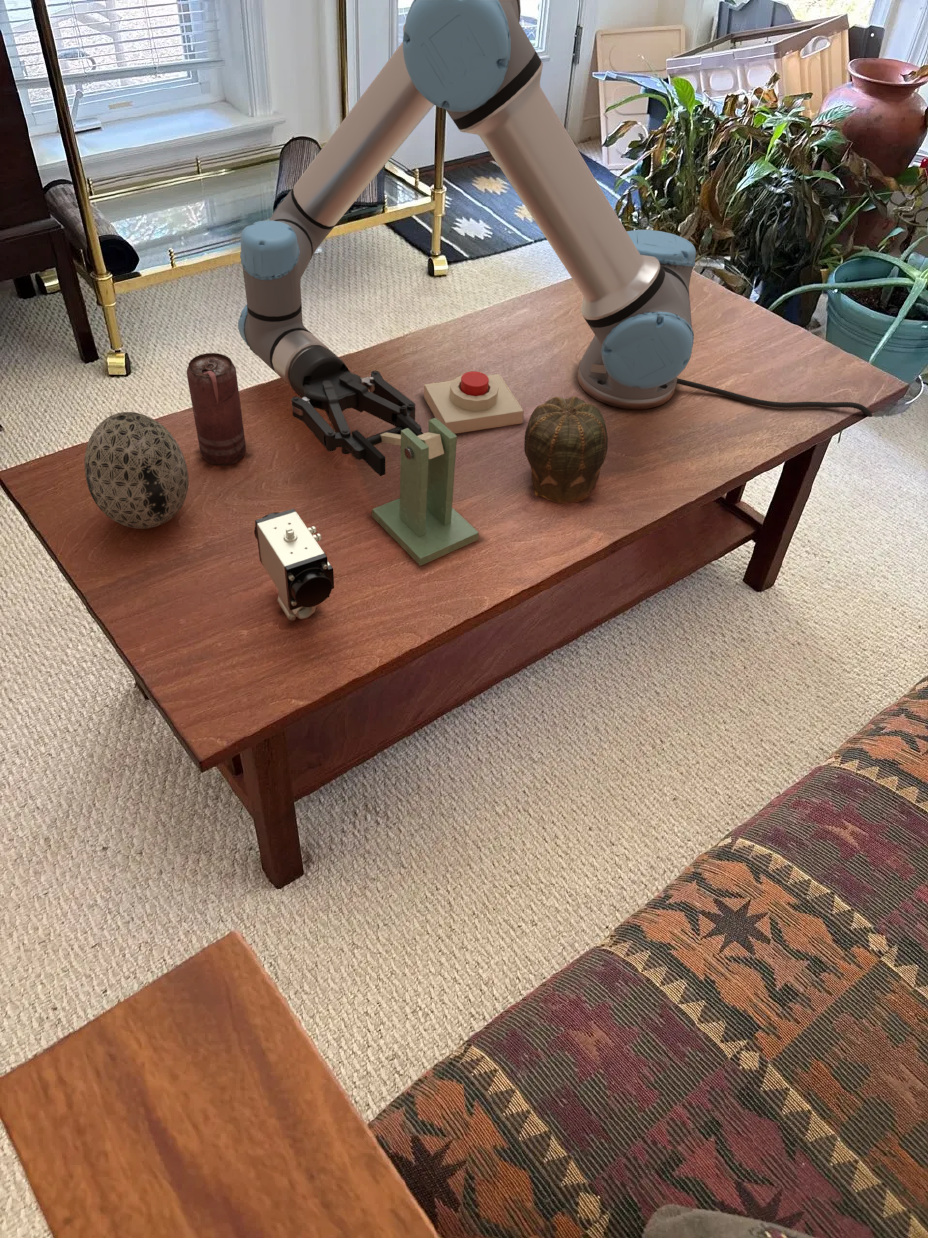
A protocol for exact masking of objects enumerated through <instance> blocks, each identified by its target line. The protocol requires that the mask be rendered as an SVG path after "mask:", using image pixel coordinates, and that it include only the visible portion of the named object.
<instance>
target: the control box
mask: <svg viewBox="0 0 928 1238" xmlns="http://www.w3.org/2000/svg"><path fill="white" fill-rule="evenodd" d="M462 375H463V374H461V375H459V376H457V377H455V378H453V379H452V380H447V381H440V382H433V383H425V384H423V398H424V400H425V402H426V404H427V406H428V407H429V409H430V411H431V412H432V413H431V414H433V416H434V418H437V419H438V420H439V421H440V422H441V423H442V424H444V425H445V426H446V427H447V428H448V429H449V430H450V431H452V432H453V433H454V434H455V435H456V434H462V433H467V432H468V433H469V432H474V431H480V430H481V431H482V430H488V429H494V428H500V427H506V426H514V425H519V424H523V421H524V414H525V413H524V412H525V411H524V408H522V406H521V404H520V403H519V401H518V400H517V398H516V397H515V396H514V393H513V392H512V391H511V389H510V388H509V386H508V384H507V383H506V382H505V380H504V379H503V377H502V376H501V374H500V373H495V374H489V375H486V376H487V377H488V378H489V384H488V391H487V393H486V394H485V395H481V396H472V395H467V394H465V393H463V392H462V391H461V377H462Z"/></svg>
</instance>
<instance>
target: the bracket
mask: <svg viewBox="0 0 928 1238" xmlns="http://www.w3.org/2000/svg"><path fill="white" fill-rule="evenodd" d="M427 432H429V433H435V434H440V437H441V441H442V446H443V450H444V454H442V455H440V456H437V457H435V458H432V459H430V460H429V459H428V457H429V447H428V446H427V445H426V444H425V443H424V442H423V441H422V440H421V439H419V438H418V437H417V436H416V435H415V434H414V433H413V432H412V431H411V430H410V429H408V428H406V429H403V430H401V446H400V456H399V457H400V459H399V460H400V463H399V464H400V465H399V468H400V469H399V472H400V473H399V498H396V499H394V500H391V501H389V502H386V503H384V504H381V505H379V506H376V507H374V508H372V510H371V516H372V518H373V519H374V520H375V521H376V522H377V524H379V525H380V527H382V528H383V529H384V531H386V532H387V534H388V535H389V536H390V537H391V538H392V539H393V540H394V541H395V542H396V543H397V544H398V546H400V547H401V548H402V549H403V550H404V551H405V552H406V553H407V554H408V555H409V556H410V557H411V558H412V559H413V560H414V561H415V562H416V564H417V565H419V567H422V566H424V565H426V564H428V563H431V562H433V561H434V560H437V559H440V558H441V557H444V556H446V555H448V554H450V553H452V552H455V551H457V550H459V549H461V548H463V547H465V546H468V545H470V544H473V543H475V542H477V541H479V537H480V535H479V533H480V532H479V531H478V530H477V529H476V528H475V527H474V526H473V525H472V524H471V523H470V522H468V520H466V518H465V517H463V516H462V515H461V514H460V513H459V512H458V511H457V510H455V508H453V498H454V485H455V471H456V456H457V444H458V443H457V441H458V436H457V435H456V434H454V433H453V432H452V431H450V430H449V429H448V428H447V427H446V426H445V425H444V424H442V423H441V422H440V421H439V420H438V419H437V418H435V417H433V418H431V419H428V430H427Z"/></svg>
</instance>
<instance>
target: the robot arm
mask: <svg viewBox="0 0 928 1238" xmlns="http://www.w3.org/2000/svg"><path fill="white" fill-rule="evenodd" d="M521 7H522V6H521V0H413V1H411V4H410V8H409V9H408V12H407V15H406V18H405V23H404V25H402V26H403V27H402V32H403V36H402V41H401V42H400V45H399V46H398V47H397V49H396V50H395V51H394V53H393V54H391V57H390V58H389V59H388V61H387V62H386V63H385V64H384V66H383V67H382V68H381V70H379V72H378V74H377V75H376V76H375V78H374V79H373V80H372V81H371V83H370V84H369V86H368V87H367V88H366V90H365V91H363V93H362V95H361V96H360V98H359V99H358V100H357V101H356V103H355V104H354V106H353V107H351V110H350V111H349V112H348V113H347V115H346V116H345V117H344V119H343V120H342V122H341V123H340V124H339V126H338V127H336V130H334V132H333V133H332V135H331V136H330V137H329V139H328V140H327V141H326V143H325V144H324V145H323V147H322V148H321V149H320V151H319V152H318V153H317V155H315V157H314V159H313V160H312V161H311V162H310V164H309V166H308V167H307V168H306V169H305V171H304V172H303V173H302V175H301V176H300V177H299V178H298V180H297V181H296V183H294V186H293V187H292V188H291V190H290V191H289V192H288V193H287V194H286V196H285V197H283V198H282V199H281V200H280V201H279V203H277V206H276V207H275V208H274V210H273V212H272V215H271V217H270V219H268V220H259V221H255V222H253V223H252V224H249V225H247V226H245V227H244V228H243V230H242V232H241V234H240V254H239V258H240V263H241V265H242V275H243V281H244V290H245V297H246V299H245V300H246V305H245V306H244V307H243V308H242V310H241V312H240V316H239V319H238V321H237V328H238V333H239V336H240V337H241V339H242V340H243V341H244V343H245V344H246V346H248V347H249V350H250V351H252V353H253V354H254V355H255V356H257V357H258V358H259V359H260V360H261V361H262V362H263V363H264V364H266V365H267V366H268V367H269V368H270V369H271V370H272V371H273V372H274V373H275V374H277V375H278V377H279V378H280V379H282V381H283V382H284V383H286V385H287V386H289V387H290V388H291V389H292V390H293V392H294V393H295V394H297V395H298V396H293V397H291V400H290V401H291V411H292V412H291V413H292V417H294V418H295V419H297V420H299V421H301V422H302V423H304V425H305V426H306V427H307V428H308V430H310V432H311V433H312V434H313V436H314V437H316V439H317V440H318V442H319V443H320V444H321V445H322V446H323V447H324V449H326V451H328V452H334V451H336V450H337V449H338V448H341V454H343V455H351V456H352V457H353V458H354V459H355V460H357V461H361V460H363V462H365V463H366V464H367V465H368V466H369V467H370V468H371V469H372V470H373V471H374V472H375V473H376V474H377V475H378V476H379V477H382V476H385V475H386V456H385V455H384V454H383V453H382V452H381V451H380V450H379V449H378V448H377V447H376V445H374V446H373V445H372V444H371V443H370V442H369V441H368V440H367V439H366V438H367V437H365V435H363V434H362V433H361V432H360V431H359V430H358V429H356V430H353V431H351V429H350V427H349V424H348V422H347V420H346V418H345V415H344V411H346V410H348V409H352V410H355V411H357V412H359V413H363V412H365V413H366V414H367V413H368V414H369V415H372V416H373V417H375V418H378V419H379V420H382V421H384V422H385V423H388V424H390V425H391V426H393V427H398V426H403V427H404V429H406V428H408V429H410V430H411V431H412V432H413V433H414V434H415V435H416V436H419V435H421V434H424V433H425V432H423V431H422V426H421V425H420V424H419V423H418V422H417V420H416V403H415V402H414V401H413V400H411V399H410V398H409V397H407V396H406V395H405V394H404V393H402V392H401V391H399V390H398V389H397V388H395V387H394V386H393V385H392V384H391V383H389V382H388V381H387V380H385V379H384V378H383V376H382V375H381V372H380V371H378V370H372V371H371V372H370V376H366V377H361V376H360V375H358V374H356V373H353V372H351V371H350V369H349V368H348V366H347V365H346V363H345V362H344V361H343V360H342V359H341V358H340V357H339V356H338V355H337V354H336V353H334V351H332V350H331V349H330V348H329V347H328V346H327V345H326V344H325V343H323V341H321V340H320V339H319V338H318V337H317V336H316V335H314V333H312V332H311V331H310V330H309V329H307V328H306V327H305V326H304V323H303V322H304V321H303V304H302V303H303V302H302V289H301V287H302V286H301V281H302V277H303V275H304V273H305V271H306V269H307V267H308V266H309V264H310V263H311V260H312V258H313V256H314V254H315V253H316V252H317V249H318V248H319V247H320V245H321V244H322V243H323V242H324V240H325V239H326V238H327V236H328V235H329V234H330V233H331V232H332V230H334V228H335V227H336V225H337V224H338V223H339V221H340V220H341V219H342V217H343V216H345V214H346V213H347V212H348V210H349V209H350V208H351V207H352V206H353V205H354V203H355V202H356V201H357V199H358V198H359V197H360V196H361V195H362V193H363V192H364V191H365V190H366V189H367V188H368V186H369V185H370V184H371V183H372V181H373V180H374V179H375V178H376V176H377V175H378V174H379V173H380V172H381V171H382V169H383V168H384V167H385V166H386V164H387V163H388V162H389V161H390V159H392V157H393V156H394V154H395V153H396V152H397V151H398V150H399V148H400V147H402V145H403V144H404V142H405V141H407V139H408V137H409V136H410V135H411V134H412V133H413V132H414V131H415V129H416V128H417V127H418V126H419V124H420V123H421V122H422V121H423V120H424V118H425V117H426V116H427V115H428V113H430V111H431V110H432V108H433V107H438V108H440V109H441V108H442V109H443V110H445V111H446V112H447V114H448V116H449V117H450V119H451V120H452V121H453V123H454V125H455V126H456V127H457V129H458V131H459V132H461V133H464V134H465V133H466V134H472V135H476V136H478V137H479V138H480V139H481V141H482V142H483V144H484V145H485V147H486V149H487V150H488V151H489V153H490V155H491V156H492V158H493V159H494V160H495V162H496V164H497V165H498V167H499V168H500V170H501V171H502V173H503V175H504V176H505V177H506V179H507V181H508V182H509V184H510V185H511V187H512V189H513V190H514V191H515V193H516V195H517V196H518V198H519V199H520V201H521V202H522V204H523V205H524V207H525V208H526V210H527V211H528V213H529V215H530V216H531V218H532V219H533V220H534V222H535V224H536V225H537V226H538V228H539V230H540V231H541V233H542V234H543V236H544V237H545V239H546V241H547V242H548V244H549V246H550V247H551V248H552V250H553V251H554V253H555V254H556V256H557V257H558V259H559V260H560V262H561V264H562V265H563V267H564V268H565V270H566V271H567V273H568V274H569V276H570V277H571V279H572V280H573V282H574V284H575V285H576V287H577V288H578V289H579V291H580V292H581V294H582V299H581V300H582V301H581V304H580V314H581V316H582V318H583V319H584V320H585V322H586V324H587V325H588V327H589V328H590V329H591V331H592V333H593V335H594V336H593V337H592V338H591V341H590V343H589V345H588V347H587V348H586V350H585V351H584V353H583V355H582V356H581V359H580V361H579V364H578V369H577V382H578V384H579V386H580V387H581V389H582V390H583V391H584V392H585V394H588V395H589V396H590V397H591V398H593V399H594V400H597V401H598V402H601V403H603V404H604V405H608V406H612V407H615V408H619V409H625V410H645V409H646V410H647V409H652V408H657V407H659V406H661V405H663V404H665V403H666V402H668V401H669V400H670V399H672V397H673V396H674V393H675V391H676V386H677V385H681V386H685V387H689V388H693V389H697V390H701V391H704V392H708V393H713V394H715V395H716V394H717V395H720V396H724V397H727V398H731V399H733V400H737V401H742V402H746V403H749V404H754V405H758V406H763V407H769V408H778V409H779V408H780V409H781V408H783V409H785V408H787V409H794V408H828V409H832V408H833V409H834V408H851V409H856V410H858V411H860V412H862V413H863V414H864V415H865V416H866V417H868V418H872V417H873V414H872V412H871V410H870V409H868V407H866V406H865V405H863V404H860V403H859V402H853V401H834V402H833V401H831V402H830V401H829V402H828V401H827V402H826V401H795V402H794V401H791V402H784V401H783V402H782V401H771V400H765V399H758V398H754V397H750V396H746V395H742V394H739V393H736V392H732V391H729V390H725V389H722V388H721V389H720V388H717V387H713V386H710V385H706V384H702V383H698V382H694V381H691V380H687V379H683V378H678V376H679V375H680V374H681V373H683V372H684V370H685V369H686V367H687V366H688V364H689V362H690V360H691V357H692V352H693V347H694V343H695V342H694V339H695V333H694V330H693V324H692V323H693V322H692V321H693V320H692V309H691V299H690V298H691V297H690V284H691V278H692V273H693V270H694V267H695V266H696V256H697V250H696V247H695V245H694V244H693V243H692V242H691V241H689V240H688V239H686V238H684V237H682V236H680V235H677V234H674V233H671V232H666V231H662V230H654V229H633V230H632V229H631V230H628V231H627V230H626V228H625V227H624V225H623V223H622V222H621V219H620V218H619V216H618V215H617V213H616V211H615V210H614V208H613V206H612V205H611V203H610V201H609V200H608V198H607V196H606V195H605V193H604V191H603V189H602V188H601V186H600V184H599V183H598V182H597V180H596V178H595V177H594V175H593V173H592V171H591V169H590V168H589V166H588V164H587V162H586V161H585V159H584V157H583V156H582V154H581V153H580V151H579V149H578V148H577V146H576V144H575V143H574V141H573V140H572V138H571V136H570V134H569V132H568V131H567V128H566V127H565V126H564V125H563V123H562V121H561V119H560V117H559V116H558V114H557V112H556V111H555V109H554V107H553V106H552V105H551V102H550V100H549V99H548V97H547V96H546V94H545V92H544V90H543V89H542V88H541V77H542V72H543V67H544V63H543V61H542V59H541V58H540V56H539V54H538V52H537V51H536V49H535V46H533V44H532V42H531V40H530V38H529V37H528V35H527V33H526V32H525V30H524V28H523V27H522V25H521V23H520V21H521V15H522V14H521V13H522V8H521ZM317 409H318V410H320V411H324V412H325V413H326V416H327V419H328V421H329V422H330V424H331V425H332V426H331V425H330V424H329V423H328V422H327V421H326V420H325V419H324V418H323V416H322V415H321V414H320V413H319V412H318V411H317Z"/></svg>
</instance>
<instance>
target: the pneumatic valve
mask: <svg viewBox="0 0 928 1238" xmlns="http://www.w3.org/2000/svg"><path fill="white" fill-rule="evenodd" d="M254 525H255V526H254V529H253V534H254V537H255V539H256V540H257V549H258V557H259V562H260V564H261V565H262V566H263V569H264V570H265V572H266V573H267V575H268V577H269V578H270V579H271V581H272V583H273V584H274V586H275V587H276V590H277V595H278V597H277V603H278V605H279V606H280V607H281V610H282V611H283V612H284V614H285V616H286V618H287V619H288V621H295V620H296V618H298V619H299V620H305V619H308V618H309V617H310V616H312V615H313V614H314V613H316V610H317V606H319V605H320V604H322V603H323V602H325V601H326V600H327V599H328V598H330V595H331V594H332V591H333V590H334V589H335V577H334V575H335V574H334V567H333V566H332V565H331V563H330V562H329V559H328V555H327V554H326V553H325V551H324V550H323V548H322V547H321V546H320V544H319V543H318V542H322V539H323V538H322V535H321V533H317V531H318V530H317V528H316V526H314V525H313V526H311V527H307V525H306V524H305V522H304V521H303V519H302V518H301V516H300V515H299V513H298V512H297V511H296V508H291V509H288V510H284V511H282V512H278V511H277V512H270V513H267V514H265V515H264V516H263V517H261V518H258V519H255V520H254Z"/></svg>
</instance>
